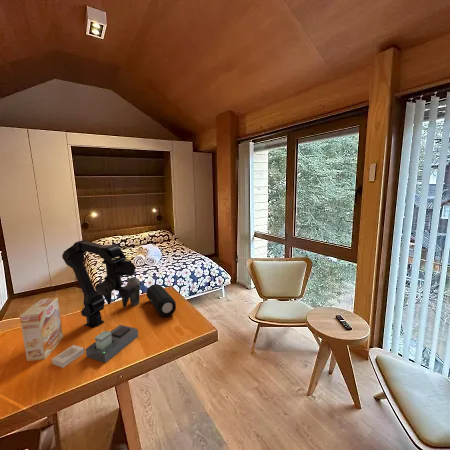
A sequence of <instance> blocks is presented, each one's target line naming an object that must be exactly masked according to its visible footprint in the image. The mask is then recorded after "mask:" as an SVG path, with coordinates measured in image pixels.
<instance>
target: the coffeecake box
mask: <svg viewBox="0 0 450 450" xmlns="http://www.w3.org/2000/svg"><path fill="white" fill-rule="evenodd" d="M60 313H61V312H60V305H59V299H58V297H46V298H40V299H39V300H38V301H37V302H35V303H34V304H33V305H32V306H30V307H29V308H28V309H26V310H25V311H24V312H23V313H21V314H20V315H19V319H20V327H21V333H22V338H23V343H24V344H23V345H24V350H25V355H26V356H25V357H26V361H27V362H31V361H40V360H41V361H42V360H46V359H47V358H48V357H49V355H51V353H52V352H53V351H54V350H55V348H56V347H57V345H58V344H59V343H60V342H61V340H62V339H63V338H64V335H63V334H64V333H63V326H62V320H61V314H60Z"/></svg>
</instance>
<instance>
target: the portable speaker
mask: <svg viewBox="0 0 450 450" xmlns="http://www.w3.org/2000/svg"><path fill="white" fill-rule="evenodd" d="M146 297H147V299H148V300H149V302H150V303H151V304H152V306H153V307H154V309H155V310H156V311H157V313H158V314H159V315H160V316H161V317H169V316H172V315H173V314H174V313H175V311H176V309H177V303H176V301H175V299H174V298H173V296H171V294H169V292H167V290H166V289H165V288H164V287H163V286H162V285H160V284H157V283H156V284H151V285H150V286H149V287H148V288H147V291H146Z"/></svg>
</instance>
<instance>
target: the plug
mask: <svg viewBox="0 0 450 450" xmlns="http://www.w3.org/2000/svg"><path fill="white" fill-rule="evenodd" d="M94 341H95V342H96V349H98V350H101V351H103V350H104V349H105V348H107V347H108V346H109V345H111V344H112V338H111V332H110V331H107V330H103V331H102V332H100V333H99V334H98V335H96V336H95V337H94Z"/></svg>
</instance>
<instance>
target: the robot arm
mask: <svg viewBox="0 0 450 450" xmlns="http://www.w3.org/2000/svg"><path fill="white" fill-rule="evenodd" d="M85 253H90V254H95V255H98V256H99V258H100V259H102V261H101V264H102V265H105V271H106V276H104V279H103V281H101V282H99V283H97V284H95V287H94V285H93V282H92V280H91V278H90V276H89V273H88V271H87V269H86V268H87V267H85V266H86V265H85ZM61 255H62V257H61V258H62V260H63V261H64V263H65V264H66V265H67V266H68V267H70V268H71V269H72V271H73V273H74V275H75V278H76V280H77V283H78V284H79V286H80V289H81V292H82V293H83V296H84V298H83V306H84V307H83V308H82V310H80V314H81V316H82V317H86V323H84V327H88V328H92V329H95V328H96V327H99V326H100V325H102V324H103V323H105V320H103V319H102V315H101V311H102V310H104V308H105V304H106V303H107V304H108V305H111V303H112V296H113V295H112V292H113V291H118V294H119V298H121V301H122V306H123V308H127V305H128V302H129V300H130V296H131V294H132V293H133V292H135V286H133V285H127V284H126V285H125V283H124V282H123V281H122V277H125V276H126V277H133V275H134V274H135V272H136V266H135V264H134V263H133V262H132V260H131V259H127V258H128V257H126V254H125V253H124V252H123V250H122V249H121V248H120V245H117V244H100V243H96V242H93V241H88V240H87V239H86V240H85V239H82V240H79V241H76V242H74V243H73V245H71V246H69V247H68V248H67V249H66V250H64V251H63V253H62V254H61ZM123 285H124V286H123ZM105 301H106V302H105Z"/></svg>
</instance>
